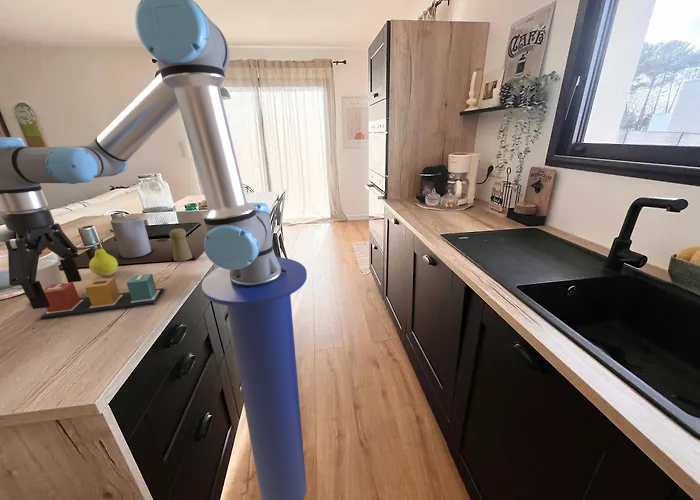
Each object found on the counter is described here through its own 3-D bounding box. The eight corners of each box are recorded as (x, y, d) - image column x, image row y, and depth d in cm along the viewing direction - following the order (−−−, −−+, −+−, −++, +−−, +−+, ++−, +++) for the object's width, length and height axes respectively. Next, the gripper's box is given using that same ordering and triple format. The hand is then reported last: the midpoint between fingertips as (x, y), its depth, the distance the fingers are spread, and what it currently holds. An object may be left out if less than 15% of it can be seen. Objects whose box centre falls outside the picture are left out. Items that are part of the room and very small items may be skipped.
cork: (170, 258, 104) (163, 229, 101) (187, 253, 109) (181, 226, 105) (178, 262, 101) (172, 232, 97) (195, 257, 106) (189, 228, 102)
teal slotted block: (156, 291, 81) (152, 272, 79) (151, 298, 77) (146, 279, 75) (138, 293, 80) (133, 274, 78) (132, 301, 76) (126, 282, 74)
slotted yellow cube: (120, 295, 78) (114, 276, 76) (112, 304, 74) (106, 284, 72) (100, 298, 77) (94, 279, 75) (92, 306, 73) (84, 286, 71)
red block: (80, 300, 76) (72, 281, 74) (70, 309, 72) (62, 289, 70) (59, 303, 75) (51, 283, 73) (48, 312, 71) (39, 292, 69)
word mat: (163, 289, 83) (162, 287, 83) (154, 304, 76) (153, 301, 75) (61, 302, 76) (60, 300, 76) (41, 319, 69) (40, 316, 69)
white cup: (61, 289, 83) (48, 257, 79) (75, 295, 80) (62, 262, 76) (23, 302, 76) (7, 268, 73) (36, 309, 73) (20, 274, 69)
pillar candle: (119, 253, 110) (107, 215, 104) (149, 247, 116) (139, 210, 110) (122, 260, 103) (110, 220, 98) (154, 253, 109) (144, 215, 104)
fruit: (89, 281, 88) (76, 244, 83) (97, 272, 93) (85, 238, 89) (117, 277, 90) (105, 241, 86) (123, 269, 96) (112, 235, 92)
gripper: (42, 200, 75) (70, 274, 82) (-50, 226, 52) (1, 324, 60) (77, 199, 77) (101, 271, 84) (3, 223, 54) (45, 318, 62)
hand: (59, 293), depth 72 cm, fingers open, 13 cm apart
